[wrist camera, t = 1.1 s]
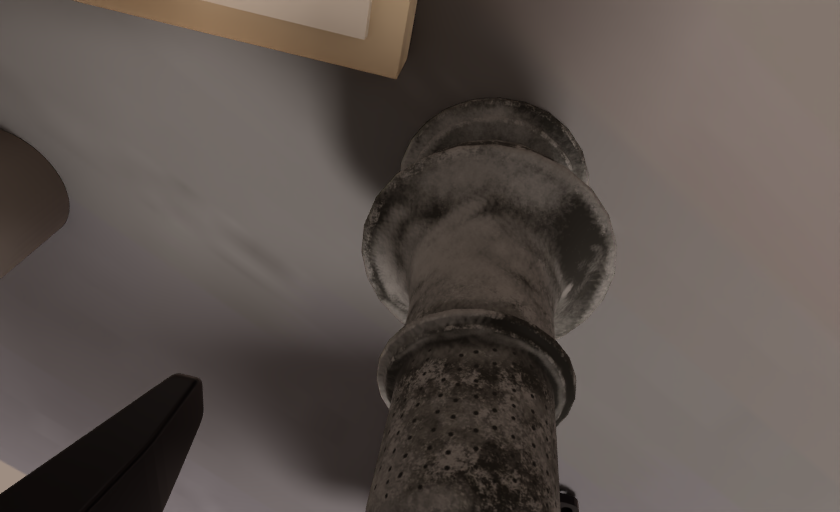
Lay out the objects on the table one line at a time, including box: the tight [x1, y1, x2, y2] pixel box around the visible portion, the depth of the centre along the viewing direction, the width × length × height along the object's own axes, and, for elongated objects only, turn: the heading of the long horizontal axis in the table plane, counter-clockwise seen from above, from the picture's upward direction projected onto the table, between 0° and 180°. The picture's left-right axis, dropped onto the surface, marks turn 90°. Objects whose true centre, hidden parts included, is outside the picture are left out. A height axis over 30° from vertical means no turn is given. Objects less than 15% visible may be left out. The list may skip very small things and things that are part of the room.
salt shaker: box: [362, 98, 617, 512], centre depth 12 cm, size 6×6×12 cm
